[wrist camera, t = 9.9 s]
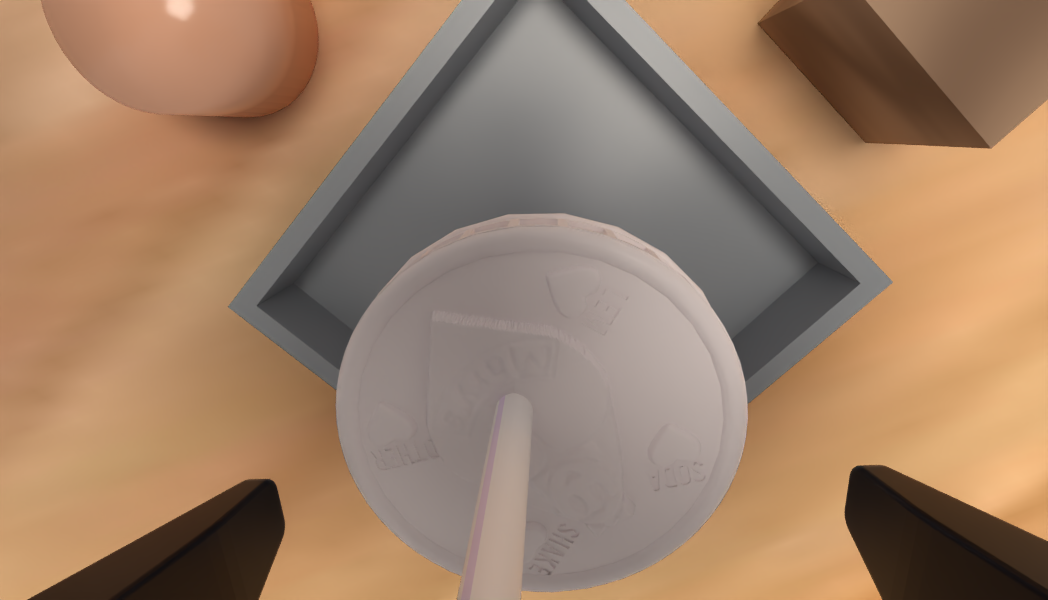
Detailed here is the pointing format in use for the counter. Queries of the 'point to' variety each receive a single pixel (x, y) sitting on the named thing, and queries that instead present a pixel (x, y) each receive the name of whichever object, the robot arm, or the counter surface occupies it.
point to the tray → (563, 184)
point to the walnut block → (920, 64)
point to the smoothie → (541, 405)
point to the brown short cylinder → (190, 52)
